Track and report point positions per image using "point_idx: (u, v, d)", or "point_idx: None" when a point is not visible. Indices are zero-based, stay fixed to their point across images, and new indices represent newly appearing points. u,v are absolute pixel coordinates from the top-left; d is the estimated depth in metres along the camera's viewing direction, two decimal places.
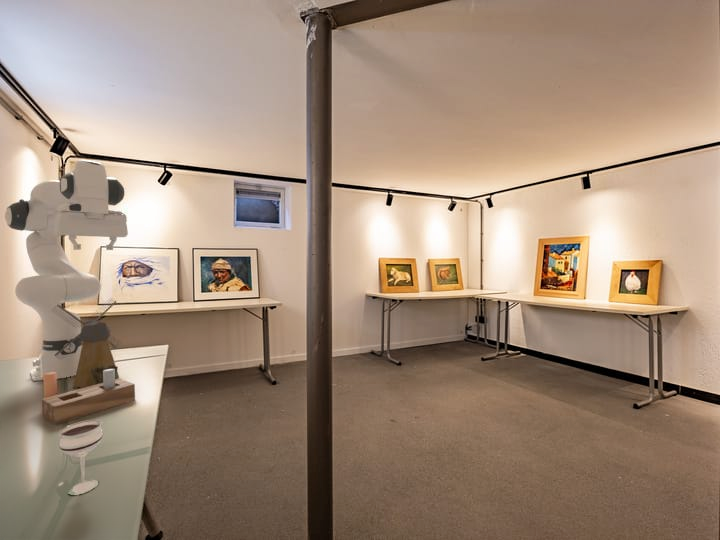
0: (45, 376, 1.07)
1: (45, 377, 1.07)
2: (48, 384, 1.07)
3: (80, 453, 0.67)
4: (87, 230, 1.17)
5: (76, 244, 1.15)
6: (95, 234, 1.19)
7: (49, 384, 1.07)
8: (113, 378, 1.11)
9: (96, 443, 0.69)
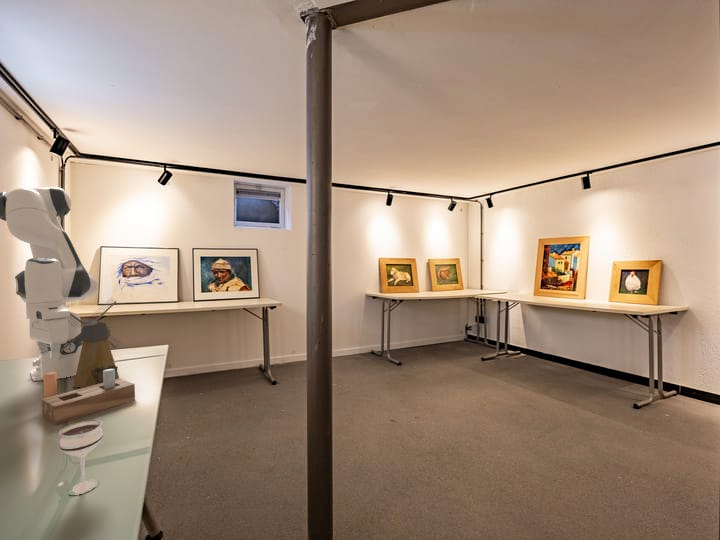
0: (45, 376, 1.07)
1: (45, 377, 1.07)
2: (48, 384, 1.07)
3: (80, 453, 0.67)
4: None
5: None
6: None
7: (49, 384, 1.07)
8: (113, 378, 1.11)
9: (96, 443, 0.69)
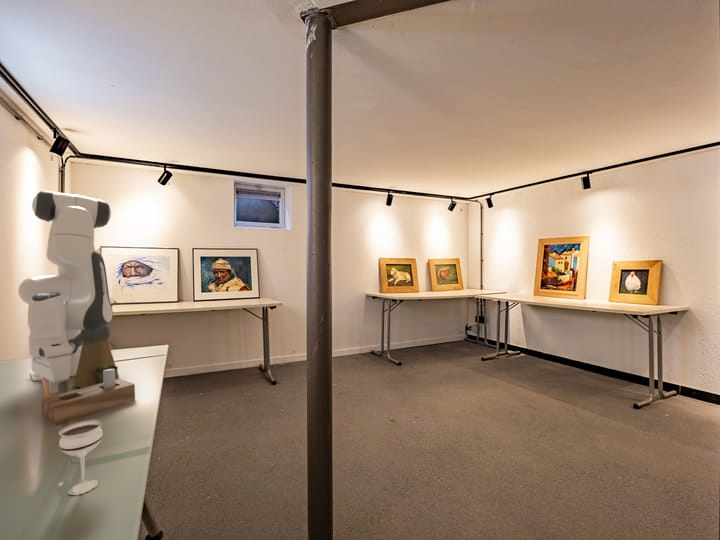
0: None
1: None
2: (48, 384, 1.07)
3: (80, 453, 0.67)
4: None
5: None
6: None
7: (49, 384, 1.07)
8: (113, 378, 1.11)
9: (96, 443, 0.69)
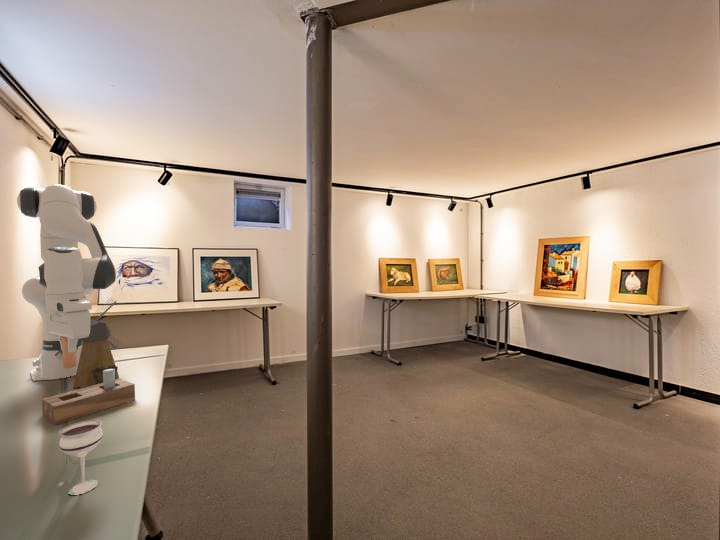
0: None
1: None
2: (66, 342, 1.01)
3: (80, 453, 0.67)
4: None
5: None
6: None
7: (67, 343, 1.01)
8: (113, 378, 1.11)
9: (96, 443, 0.69)
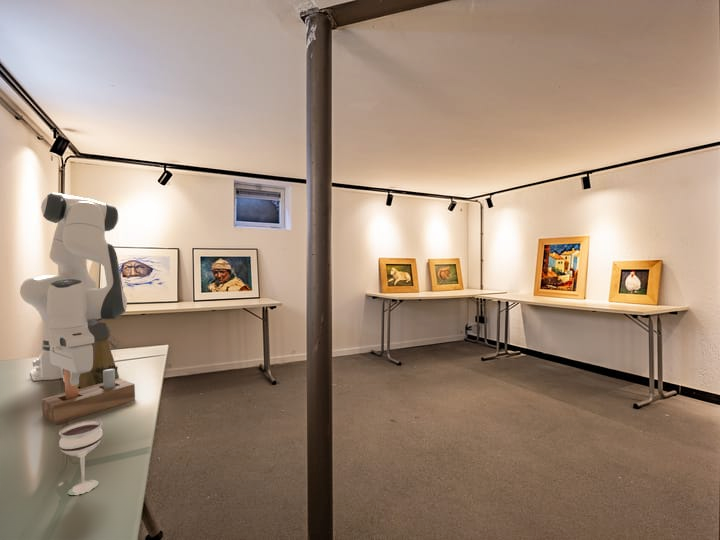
0: None
1: None
2: (69, 375, 1.01)
3: (80, 453, 0.67)
4: None
5: None
6: None
7: (70, 376, 1.01)
8: (113, 378, 1.11)
9: (96, 443, 0.69)
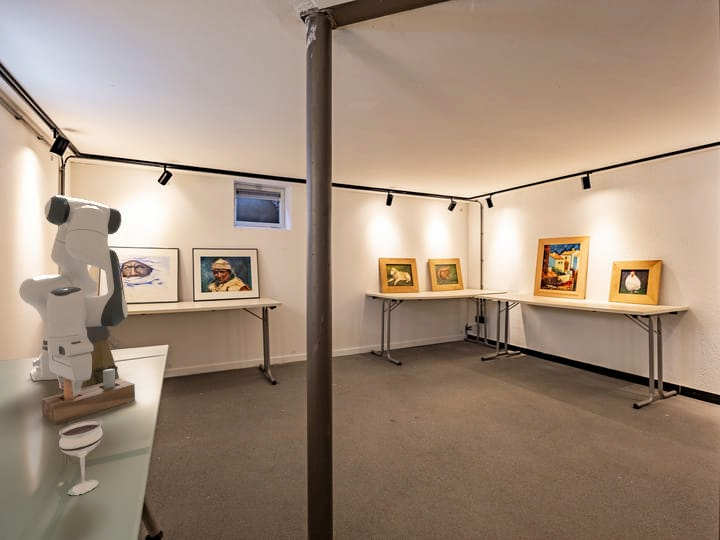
0: (65, 382, 1.01)
1: (65, 383, 1.01)
2: (68, 390, 1.01)
3: (80, 453, 0.67)
4: None
5: None
6: None
7: (69, 391, 1.01)
8: (113, 378, 1.11)
9: (96, 443, 0.69)
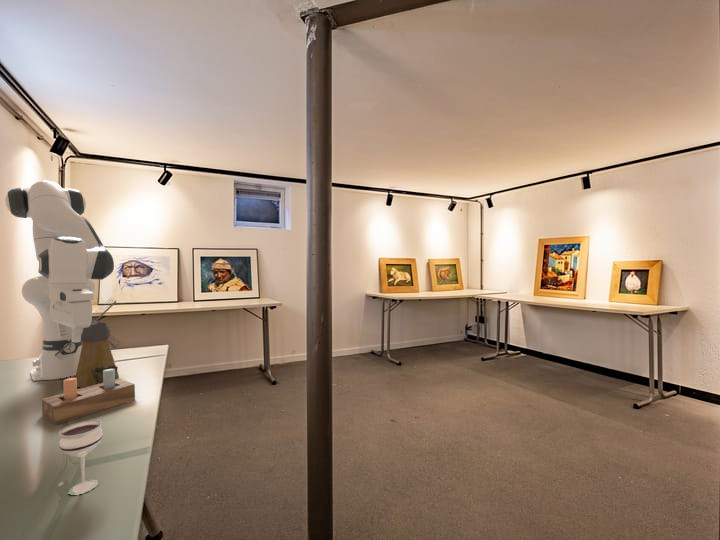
0: (65, 382, 1.01)
1: (65, 383, 1.01)
2: (68, 390, 1.01)
3: (80, 453, 0.67)
4: None
5: None
6: None
7: (69, 391, 1.01)
8: (113, 378, 1.11)
9: (96, 443, 0.69)
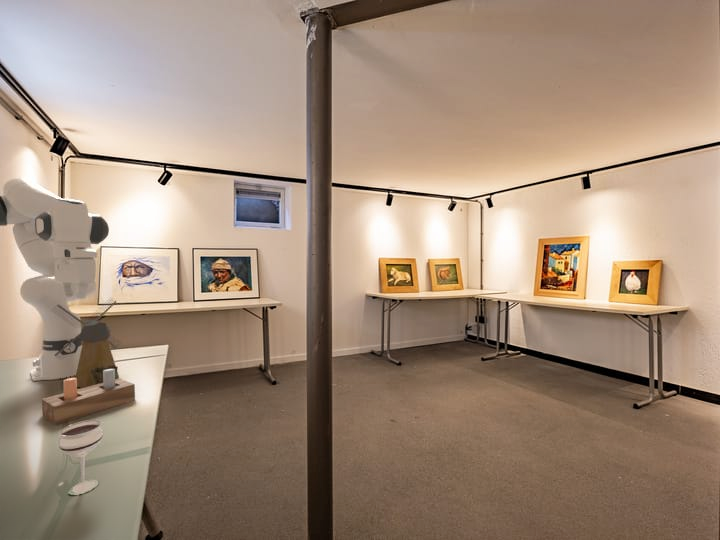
0: (65, 382, 1.01)
1: (65, 383, 1.01)
2: (68, 390, 1.01)
3: (80, 453, 0.67)
4: None
5: None
6: None
7: (69, 391, 1.01)
8: (113, 378, 1.11)
9: (96, 443, 0.69)
